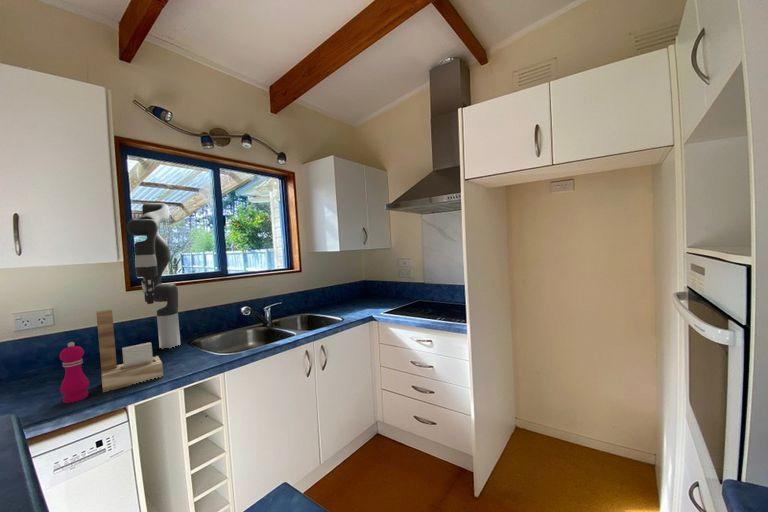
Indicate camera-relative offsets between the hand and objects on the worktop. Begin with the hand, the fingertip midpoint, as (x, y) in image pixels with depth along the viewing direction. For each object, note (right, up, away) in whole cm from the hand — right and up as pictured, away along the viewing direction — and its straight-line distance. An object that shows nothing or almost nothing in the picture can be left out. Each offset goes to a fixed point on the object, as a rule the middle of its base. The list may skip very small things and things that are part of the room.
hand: (149, 302), depth 136 cm
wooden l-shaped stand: (+3, -29, -12) cm, 31 cm away
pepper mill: (-5, -30, -27) cm, 40 cm away
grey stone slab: (+4, -27, -11) cm, 30 cm away
